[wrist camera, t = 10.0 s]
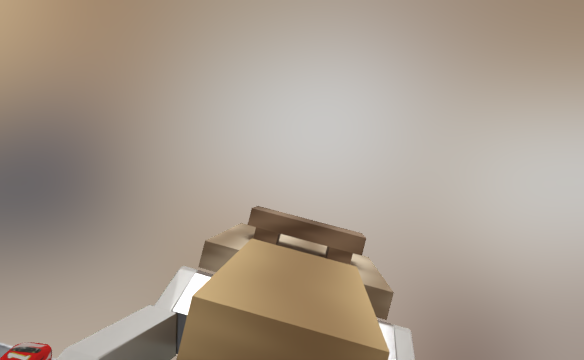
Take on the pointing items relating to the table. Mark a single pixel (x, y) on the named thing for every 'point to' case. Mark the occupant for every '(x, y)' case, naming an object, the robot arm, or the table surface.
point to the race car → (28, 352)
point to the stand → (301, 247)
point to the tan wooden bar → (282, 310)
